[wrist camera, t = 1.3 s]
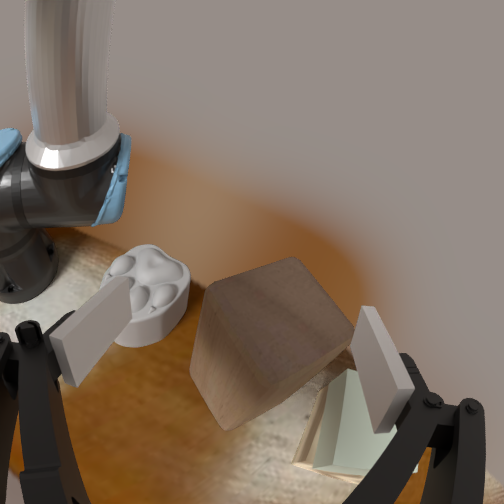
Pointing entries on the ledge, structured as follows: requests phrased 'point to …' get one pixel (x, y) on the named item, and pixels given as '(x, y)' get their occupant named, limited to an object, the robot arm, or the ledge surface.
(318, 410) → the tower bottom
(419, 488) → the ledge surface
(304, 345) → the block
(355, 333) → the robot arm
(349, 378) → the tower top
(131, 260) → the lumpy-topped squat cylinder
